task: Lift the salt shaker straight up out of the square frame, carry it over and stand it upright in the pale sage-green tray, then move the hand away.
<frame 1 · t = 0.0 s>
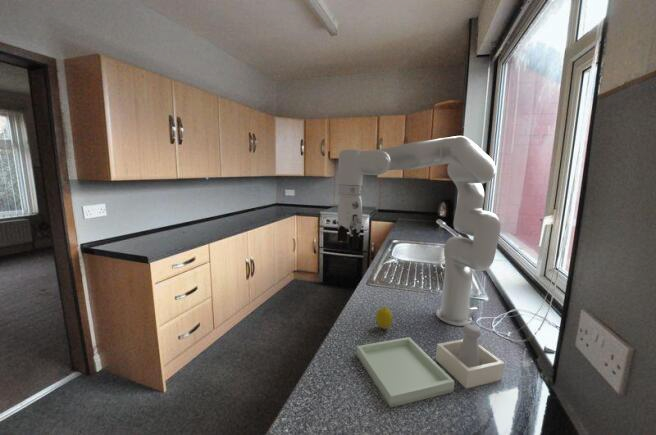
hand: (347, 244, 91), 31 cm above the counter, tool pointing down, fingers open, 9 cm apart
salt shaker: (467, 369, 81), resting in square frame
tray: (400, 371, 79), on the counter
square frame: (467, 369, 81), on the counter
lemon: (383, 329, 101), on the counter
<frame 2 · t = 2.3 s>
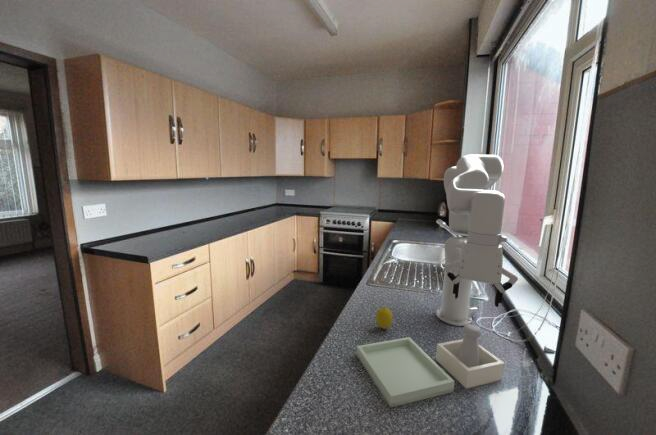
hand: (475, 300, 77), 21 cm above the counter, tool pointing down, fingers open, 9 cm apart
nothing on the counter moved.
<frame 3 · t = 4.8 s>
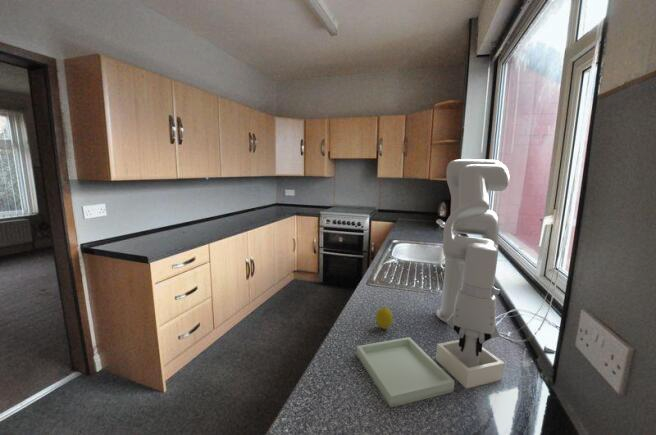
hand: (469, 350, 80), 6 cm above the counter, tool pointing down, fingers closed on salt shaker, 3 cm apart
salt shaker: (467, 369, 81), resting in square frame, touching gripper
everything else where it was.
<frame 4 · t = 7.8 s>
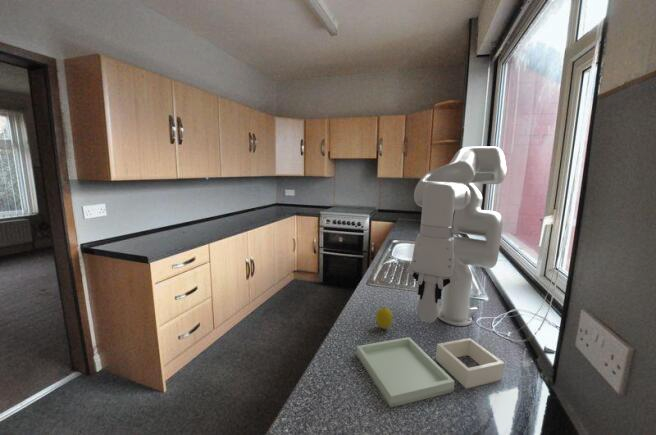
hand: (429, 298, 76), 22 cm above the counter, tool pointing down, fingers closed on salt shaker, 3 cm apart
salt shaker: (427, 319, 77), point 16 cm above the counter, touching gripper
everything else where it was.
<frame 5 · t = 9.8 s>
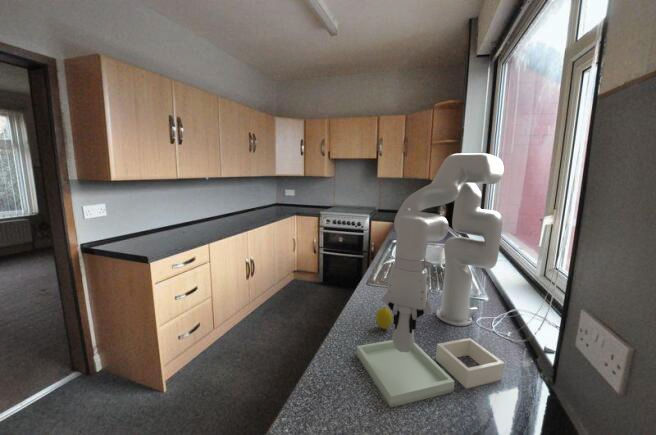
hand: (404, 328, 77), 13 cm above the counter, tool pointing down, fingers closed on salt shaker, 3 cm apart
salt shaker: (402, 348, 78), point 7 cm above the counter, touching gripper
everything else where it was.
when the fingers open (8 cm above the counter, at t = 11.1 s): salt shaker stays where it is, resting on tray.
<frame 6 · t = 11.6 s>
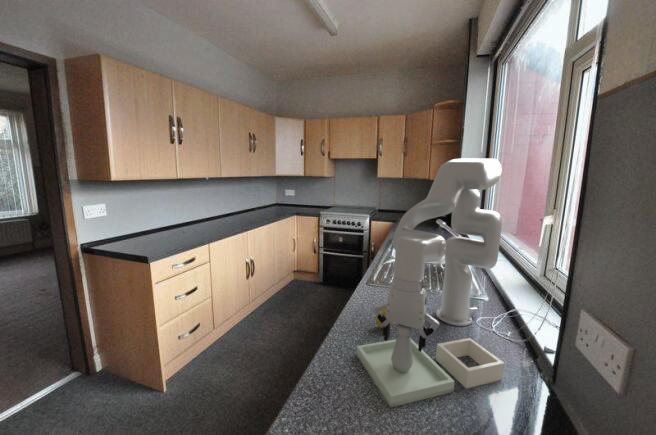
hand: (403, 343, 78), 9 cm above the counter, tool pointing down, fingers open, 8 cm apart
salt shaker: (401, 368, 79), point 1 cm above the counter, touching tray
everything else where it was.
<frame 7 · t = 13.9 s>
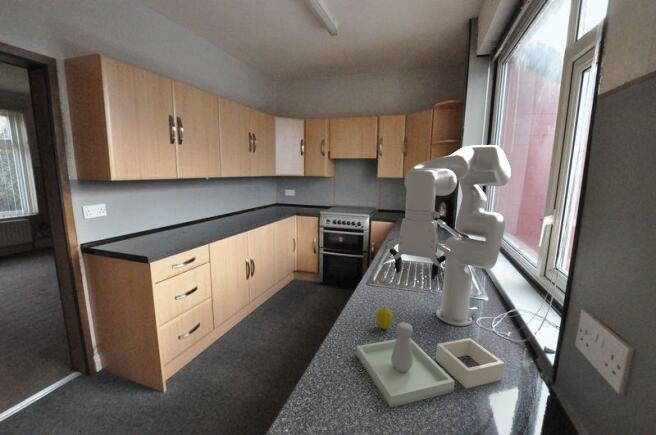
hand: (415, 274, 82), 26 cm above the counter, tool pointing down, fingers open, 9 cm apart
nothing on the counter moved.
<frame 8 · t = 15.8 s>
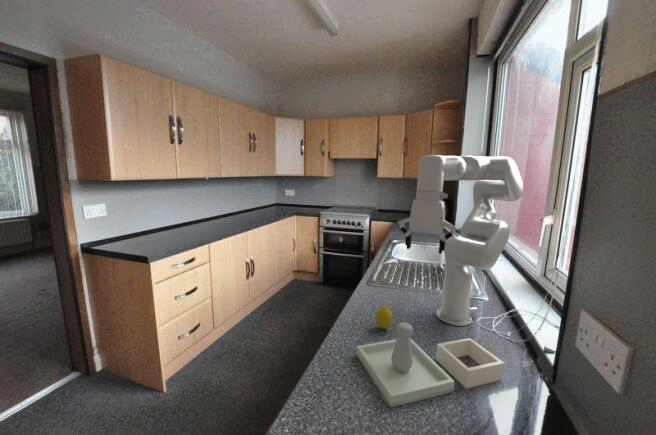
hand: (424, 250, 91), 30 cm above the counter, tool pointing down, fingers open, 9 cm apart
nothing on the counter moved.
at the end: salt shaker inside the target area on the tray (0.2 cm from its centre), point 0.8 cm above the tray's base; salt shaker tilted 0°; the gripper is holding nothing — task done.
